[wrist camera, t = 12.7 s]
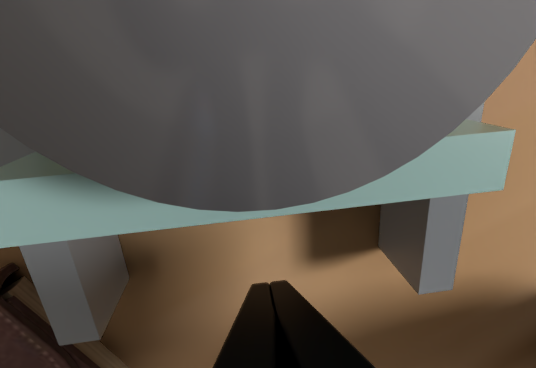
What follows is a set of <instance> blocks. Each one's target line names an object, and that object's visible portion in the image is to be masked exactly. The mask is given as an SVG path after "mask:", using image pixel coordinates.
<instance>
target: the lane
mask: <svg viewBox="0 0 536 368" xmlns="http://www.w3.org/2000/svg"><path fill="white" fill-rule="evenodd" d="M483 107H484V103H483V104H482V105H481V106H480V107H478V108H477V109H476V110H475V111H474V112H473V113H472V114H471V115H470V116H469V117H468V118H466V119H468V120H472V121H477V122H481V119H482V113H483ZM34 152H36V151H34V150H32V149H30V148H29V147H27V146H26V145H24V144H23V143H21V142H20V141H18V140H17V139H16V138H14V137H13V136H11V135H10V134H8V133H7V132H5V131H4V130H3V129H1V128H0V167H1V166H4V165H6V164H8V163H11V162H13V161H15V160H18V159H20V158H22V157H24V156H27V155H29V154H31V153H34ZM468 195H469V194H464V195H455V196H447V197H438V198H429V199H421V200H412V201H403V202H395V203H386V204H381V212H380V228H379V244H378V247H379V248H380V249H381V250H382V252H383V253H384V254H385V255H386V256H387V258H388V259H389V260H390V261H391V262H392V264H393V265H394V266H395V267H396V268H397V270H398V271H399V272H400V273H401V274H402V276H403V277H404V278H405V279H406V280H407V282H408V283H409V284H410V285H411V286H412V287H413V289H414V290H415V291H416V292H417V293H418V295H419V294H426V293H433V292H440V291H447V290H452V289H453V283H454V277H455V272H456V266H457V260H458V254H459V248H460V242H461V236H462V230H463V224H464V219H465V213H466V207H467V201H468ZM19 248H20V251H21V253H22V256H23V258H24V260H25V263H26V265H27V268H28V270H29V273H30V275H31V278H32V280H33V283H34V285H35V287H36V290H37V292H38V295H39V297H40V300H41V302H42V305H43V307H44V310H45V312H46V315H47V317H48V319H49V322H50V324H51V327H52V329H53V332H54V334H55V337H56V339H57V342H58V344H59V346H61V345H68V344H75V343H82V342H89V341H96V340H101V337H102V335H103V333H104V331H105V329H106V327H107V325H108V323H109V321H110V319H111V316H112V314H113V312H114V310H115V308H116V306H117V304H118V302H119V300H120V297H121V295H122V293H123V291H124V289H125V287H126V285H127V283H128V281H129V274H128V271H127V267H126V264H125V260H124V256H123V253H122V249H121V245H120V242H119V238H118V235H110V236H101V237H92V238H84V239H75V240H66V241H58V242H49V243H40V244H32V245H23V246H19Z"/></svg>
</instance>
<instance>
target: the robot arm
mask: <svg viewBox="0 0 536 368" xmlns="http://www.w3.org/2000/svg"><path fill="white" fill-rule="evenodd" d="M213 368H375V367H374V366H373V365H372V364H371V363H370V362H369V361H368V360H367V359H366V358H365V357H364V356H363V355H362V354H361V353H360V352H359V351H358V350H357V349H356V348H355V347H354V346H353V345H352V344H351V343H350V342H349V341H348V340H347V339H346V338H345V337H344V336H343V335H342V334H341V333H340V332H339V331H338V330H337V329H336V328H335V327H334V326H332V325H331V324H330V323H329V322H328V321H327V320H326V319H325V318H324V317H323V316H322V315H321V314H320V313H319V312H318V311H317V310H316V309H315V308H314V307H313V306H312V305H311V304H310V303H309V302H308V301H307V300H306V299H305V298H304V297H303V296H302V295H301V294H300V293H299V292H298V291H297V290H296V289H295V288H294V287H293V286H292V285H291V284H290V283H288V282H287V281H286V280H282V281H274V282H271V283H270V285H269V284H268V283H267V282H265V283H256V284H252V285H251V287H250V289H249V291H248V293H247V296H246V298H245V300H244V302H243V304H242V306H241V308H240V311H239V313H238V315H237V317H236V319H235V321H234V323H233V325H232V328H231V330H230V332H229V334H228V336H227V338H226V340H225V342H224V345H223V347H222V349H221V351H220V353H219V355H218V357H217V360H216V362H215V364H214V366H213Z"/></svg>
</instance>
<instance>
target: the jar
mask: <svg viewBox="0 0 536 368" xmlns="http://www.w3.org/2000/svg"><path fill="white" fill-rule="evenodd" d="M535 39H536V0H0V128H1V129H3V130H4V131H5V132H7V133H8V134H10V135H11V136H13V137H14V138H16V139H17V140H18V141H20V142H21V143H23V144H24V145H26V146H27V147H29V148H30V149H32V150H34V151H36V152H37V153H39V154H41V155H43V156H45V157H46V158H48V159H50V160H52V161H54V162H56V163H57V164H59V165H61V166H63V167H65V168H66V169H68V170H70V171H72V172H74V173H76V174H79V175H81V176H83V177H86V178H88V179H90V180H93V181H95V182H98V183H100V184H102V185H105V186H107V187H109V188H112V189H114V190H117V191H120V192H124V193H127V194H130V195H134V196H137V197H140V198H144V199H147V200H151V201H154V202H157V203H163V204H169V205H174V206H180V207H186V208H191V209H197V210H212V211H229V212H246V211H262V210H277V209H282V208H288V207H293V206H299V205H304V204H310V203H315V202H318V201H321V200H324V199H328V198H331V197H334V196H337V195H341V194H344V193H347V192H350V191H352V190H355V189H357V188H359V187H361V186H364V185H366V184H368V183H371V182H373V181H375V180H377V179H380V178H382V177H384V176H386V175H388V174H389V173H391V172H393V171H395V170H396V169H398V168H400V167H401V166H403V165H405V164H407V163H408V162H410V161H412V160H413V159H415V158H417V157H419V156H420V155H421V154H423V153H424V152H425V151H427V150H428V149H429V148H431V147H432V146H433V145H435V144H436V143H438V142H439V141H440V140H442V139H443V138H444V137H446V136H447V135H448V134H450V133H451V132H452V131H453V130H454V129H456V128H457V127H458V126H459V125H460V124H461V123H462V122H463V121H464V120H465V119H466V118H468V117H469V116H470V115H471V114H472V113H473V112H474V111H475V110H476V109H477V108H478V107H480V106H481V105H482V104H483V103H484V102H485V101H486V99H487V98H488V97H489V96H490V95H491V94H492V93H493V92H494V91H495V89H496V88H497V87H498V86H499V85H500V84H501V83H502V82H503V80H504V79H505V78H506V77H507V76H508V75H509V74H510V73H511V71H512V70H513V69H514V68H515V67H516V65H517V64H518V62H519V61H520V60H521V58H522V57H523V56H524V54H525V53H526V52H527V50H528V49H529V47H530V46H531V45H532V43H533V42H534V41H535Z"/></svg>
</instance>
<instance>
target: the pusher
mask: <svg viewBox="0 0 536 368" xmlns="http://www.w3.org/2000/svg"><path fill="white" fill-rule="evenodd" d="M515 132H516V130H514V129H510V128H505V127H500V126H496V125H491V124H486V123H482V122H477V121H472V120H468V119H465V120H464V121H463V122H462V123H461V124H460V125H459V126H458V127H457V128H456V129H454V130H453V131H452V132H451V133H450V134H448V135H447V136H446V137H444V138H443V139H442V140H440V141H439V142H438V143H436V144H435V145H433V146H432V147H431V148H429V149H428V150H427V151H425V152H424V153H423V154H421V155H420V156H419V157H417V158H415V159H413V160H412V161H410V162H408V163H407V164H405V165H403V166H401V167H400V168H398V169H396V170H395V171H393V172H391V173H389V174H388V175H386V176H384V177H382V178H380V179H377V180H375V181H373V182H371V183H368V184H366V185H364V186H361V187H359V188H357V189H355V190H352V191H350V192H347V193H344V194H341V195H337V196H334V197H331V198H328V199H324V200H321V201H318V202H315V203H310V204H304V205H299V206H293V207H288V208H282V209H277V210H262V211H246V212H229V211H212V210H197V209H191V208H186V207H180V206H174V205H169V204H163V203H157V202H154V201H151V200H147V199H144V198H140V197H137V196H134V195H130V194H127V193H124V192H120V191H117V190H114V189H112V188H109V187H107V186H105V185H102V184H100V183H98V182H95V181H93V180H90V179H88V178H86V177H83V176H81V175H79V174H76V173H74V172H72V171H70V170H68V169H66V168H65V167H63V166H61V165H59V164H57V163H56V162H54V161H52V160H50V159H48V158H46V157H45V156H43V155H41V154H39V153H37V152H34V153H31V154H29V155H27V156H24V157H22V158H20V159H18V160H15V161H13V162H11V163H8V164H6V165H4V166H1V167H0V248H6V247H15V246H23V245H32V244H40V243H49V242H58V241H66V240H75V239H84V238H92V237H101V236H110V235H118V234H127V233H135V232H144V231H153V230H161V229H170V228H179V227H187V226H196V225H205V224H213V223H222V222H231V221H239V220H248V219H256V218H265V217H274V216H282V215H291V214H300V213H308V212H317V211H326V210H334V209H343V208H351V207H360V206H369V205H377V204H386V203H395V202H403V201H412V200H421V199H429V198H438V197H447V196H455V195H464V194H472V193H481V192H490V191H498V190H503V188H504V184H505V179H506V174H507V169H508V165H509V160H510V155H511V151H512V146H513V141H514V136H515Z"/></svg>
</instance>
